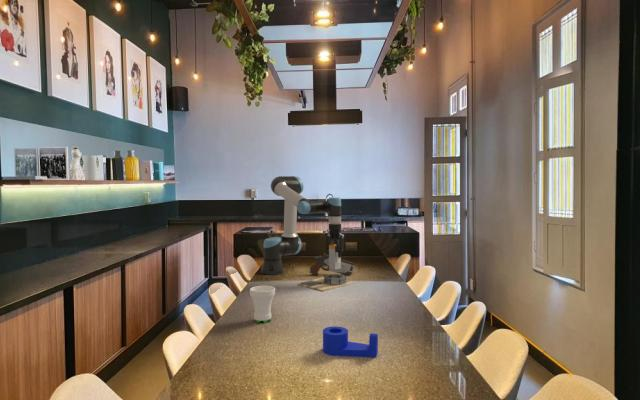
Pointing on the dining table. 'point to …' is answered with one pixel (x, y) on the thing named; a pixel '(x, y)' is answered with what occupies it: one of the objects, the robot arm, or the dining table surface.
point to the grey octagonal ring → (334, 279)
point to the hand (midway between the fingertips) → (335, 262)
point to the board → (324, 285)
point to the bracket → (347, 344)
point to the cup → (262, 302)
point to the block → (333, 257)
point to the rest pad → (311, 283)
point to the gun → (324, 260)
